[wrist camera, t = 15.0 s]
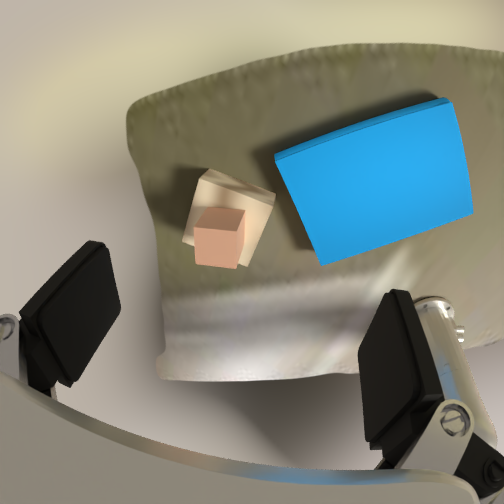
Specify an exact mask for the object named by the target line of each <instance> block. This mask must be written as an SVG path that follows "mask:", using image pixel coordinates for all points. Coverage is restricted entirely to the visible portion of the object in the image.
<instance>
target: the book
mask: <svg viewBox="0 0 504 504" xmlns="http://www.w3.org/2000/svg"><path fill="white" fill-rule="evenodd" d="M274 157H275V163H276V165H277V167H278V169H279V171H280V173H281V175H282V178H283V180H284V182H285V184H286V186H287V188H288V191H289V193H290V195H291V197H292V199H293V202H294V204H295V206H296V208H297V211H298V213H299V215H300V217H301V220H302V222H303V224H304V227H305V229H306V231H307V234H308V236H309V238H310V241H311V243H312V245H313V248H314V250H315V252H316V255H317V257H318V260H319V262H320V264H321V266H323V265H326V264H329V263H332V262H335V261H338V260H341V259H345V258H348V257H351V256H354V255H357V254H360V253H363V252H366V251H369V250H372V249H375V248H378V247H381V246H384V245H387V244H390V243H393V242H395V241H398V240H401V239H404V238H407V237H410V236H413V235H416V234H418V233H421V232H424V231H427V230H430V229H433V228H435V227H438V226H441V225H444V224H446V223H449V222H452V221H455V220H457V219H460V218H463V217H465V216H468V215H471V214H473V204H472V195H471V188H470V181H469V175H468V169H467V163H466V158H465V153H464V148H463V143H462V139H461V134H460V130H459V126H458V122H457V118H456V115H455V111H454V108H453V104H452V102H450V101H449V100H448V99H447V98H444V97H443V98H439V99H435V100H431V101H428V102H424V103H420V104H417V105H413V106H410V107H406V108H403V109H400V110H396V111H393V112H390V113H387V114H383V115H380V116H377V117H374V118H371V119H368V120H365V121H362V122H359V123H356V124H353V125H350V126H347V127H344V128H342V129H339V130H336V131H333V132H330V133H328V134H325V135H322V136H319V137H317V138H314V139H312V140H309V141H306V142H304V143H301V144H299V145H296V146H293V147H291V148H288V149H286V150H283V151H281V152H278V153H276V154H274Z"/></svg>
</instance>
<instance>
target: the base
mask: <svg viewBox="0 0 504 504" xmlns="http://www.w3.org/2000/svg"><path fill="white" fill-rule="evenodd" d="M275 197H276V193H273V192H270V191H268V190H265V189H263V188H260V187H258V186H255V185H252V184H250V183H247V182H245V181H242V180H239V179H237V178H234V177H231V176H229V175H226V174H223V173H220V172H218V171H215V170H212V169H208V170H207V171H206V172H205V173H204V174H203V175H202V176H201V177H200V178H199V181H198V185H197V188H196V192H195V195H194V199H193V202H192V206H191V209H190V213H189V217H188V221H187V224H186V228H185V232H184V236H183V240H182V242H185V243H187V244H190V245H192V246H195V245H194V228H193V227H194V226H195V224H196V223H197V221H198V220H199V218H200V217H201V216H202V214H203V213H204V211H205V210H206V209H207V207H217V208H228V209H239V210H246V212H245V239H244V246H243V249H242V252H241V255H240V258H239V261H238V263H239V264H242V265H244V266H248V264H249V262H250V259H251V257H252V255H253V253H254V250H255V248H256V246H257V243H258V241H259V239H260V236H261V234H262V232H263V229H264V227H265V225H266V222H267V220H268V218H269V215H270V213H271V211H272V208H273V206H274V201H275Z"/></svg>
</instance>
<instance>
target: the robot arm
mask: <svg viewBox="0 0 504 504" xmlns="http://www.w3.org/2000/svg"><path fill="white" fill-rule="evenodd" d="M120 310H121V304H120V300H119V295H118V291H117V287H116V283H115V278H114V273H113V268H112V263H111V258H110V253H109V249H108V248H106V246H105V244H104V243H102V242H96V241H87V242H86V243H85V244H84V245H83V246H82V247H81V248H80V249H79V250H78V251H77V252H76V253H75V254H73V255H72V257H70V258H69V259H68V260H67V261H66V262H65V263H64V264H63V265H62V266H61V267H60V269H58V270H57V271H56V272H55V273H54V274H53V275H52V276H51V277H50V279H49V280H48V281H47V282H46V283H45V284H44V285H43V286H42V287H41V288H40V289H39V290H38V291H37V292H36V293H35V294H34V296H33V297H32V298H31V299H30V300H29V301H28V302H27V303H26V304H25V306H24V307H23V308H22V309H21V310H20V311H19V314H20V316H21V320H20V321H19V320H18V319H17V317H16V316H14V315H12V314H3V315H1V316H0V504H504V457H503V456H502V455H501V454H500V453H499V452H498V451H496V446H497V435H496V431H495V428H494V425H493V423H492V421H491V419H490V417H489V415H488V413H487V411H486V409H485V406H484V404H483V402H482V399H481V397H480V395H479V392H478V389H477V386H476V384H475V381H474V379H473V376H472V373H471V370H470V367H469V365H468V362H467V359H466V357H465V354H464V352H463V349H462V347H461V344H460V343H462V342H463V335H462V334H456V332H457V333H463V332H464V329H465V328H464V326H456V324H455V322H454V318H455V312H454V309H453V307H452V305H451V303H450V302H449V301H447V300H446V299H443V298H438V297H433V298H427V299H424V300H421V301H419V302H417V303H415V304H414V303H413V300H412V298H411V295H410V293H409V292H408V291H404V290H397V289H391V290H390V292H389V293H385V294H384V296H383V298H382V300H381V303H380V305H379V307H378V309H377V312H376V314H375V316H374V318H373V320H372V322H371V324H370V327H369V329H368V331H367V333H366V335H365V337H364V339H363V341H362V343H361V345H360V347H359V350H358V363H359V372H360V382H361V391H362V402H363V415H364V430H365V440H366V441H367V442H370V450H382V454H383V459H382V460H381V461H380V463H379V464H378V465H377V466H376V468H375V469H374V470H318V469H301V468H289V467H278V466H269V465H262V464H255V463H248V462H242V461H236V460H231V459H224V458H220V457H215V456H210V455H206V454H201V453H197V452H193V451H189V450H185V449H181V448H178V447H174V446H171V445H167V444H164V443H160V442H157V441H154V440H151V439H148V438H145V437H141V436H139V435H136V434H133V433H130V432H127V431H125V430H121V429H119V428H117V427H114V426H111V425H109V424H106V423H104V422H101V421H99V420H97V419H94V418H92V417H90V416H87V415H85V414H83V413H81V412H78V411H76V410H74V409H72V408H70V407H68V406H66V405H64V404H62V403H60V402H58V401H57V396H56V390H55V383H56V382H57V380H58V382H59V383H61V384H63V385H65V386H67V387H69V388H71V386H72V384H73V383H74V382H76V381H77V380H78V379H79V378H80V376H81V375H82V373H83V371H84V370H85V368H86V366H87V365H88V363H89V361H90V360H91V358H92V356H93V355H94V353H95V352H96V350H97V348H98V347H99V345H100V343H101V342H102V340H103V339H104V337H105V336H106V334H107V332H108V331H109V329H110V328H111V326H112V325H113V323H114V322H115V320H116V318H117V317H118V315H119V313H120Z"/></svg>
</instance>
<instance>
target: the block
mask: <svg viewBox="0 0 504 504" xmlns="http://www.w3.org/2000/svg"><path fill="white" fill-rule="evenodd" d="M245 212H246V210H239V209H228V208H217V207H207V209H206V210H205V211H204V213H203V214H202V216H201V217H200V218H199V220H198V221H197V223H196V224H195V226H194V227H193V228H194V245H195V260H196V264H201V265H209V266H217V267H225V268H233V269H236V267H237V264H238V261H239V258H240V255H241V252H242V249H243V246H244V239H245Z"/></svg>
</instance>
